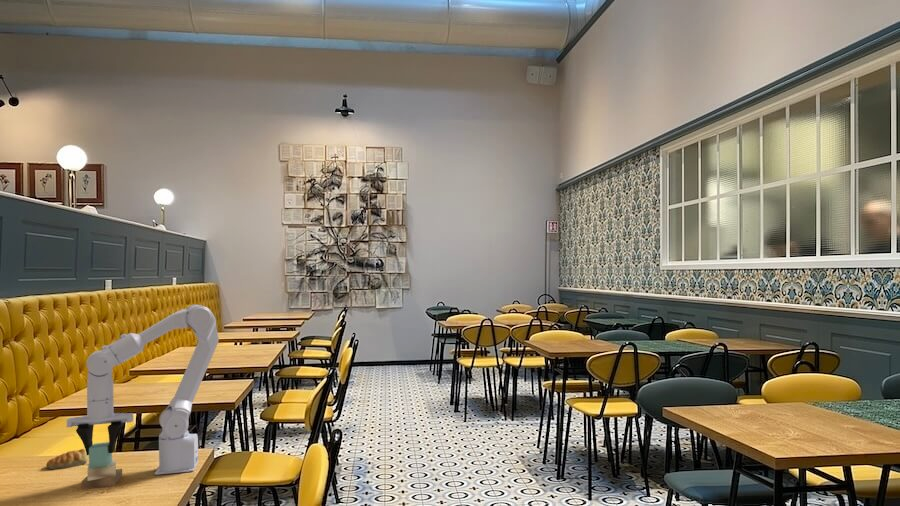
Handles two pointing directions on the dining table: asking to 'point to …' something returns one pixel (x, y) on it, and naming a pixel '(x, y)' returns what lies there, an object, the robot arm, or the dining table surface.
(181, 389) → the robot arm
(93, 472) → the tower top
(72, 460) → the pastry
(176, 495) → the dining table surface
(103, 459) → the teal block
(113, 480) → the tower base
